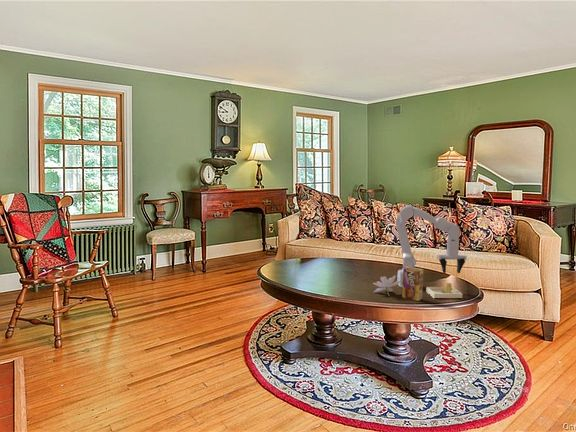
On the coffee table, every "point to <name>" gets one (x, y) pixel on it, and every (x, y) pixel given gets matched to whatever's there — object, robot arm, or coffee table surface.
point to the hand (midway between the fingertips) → (451, 272)
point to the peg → (447, 288)
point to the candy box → (412, 283)
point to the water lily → (386, 284)
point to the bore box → (439, 292)
